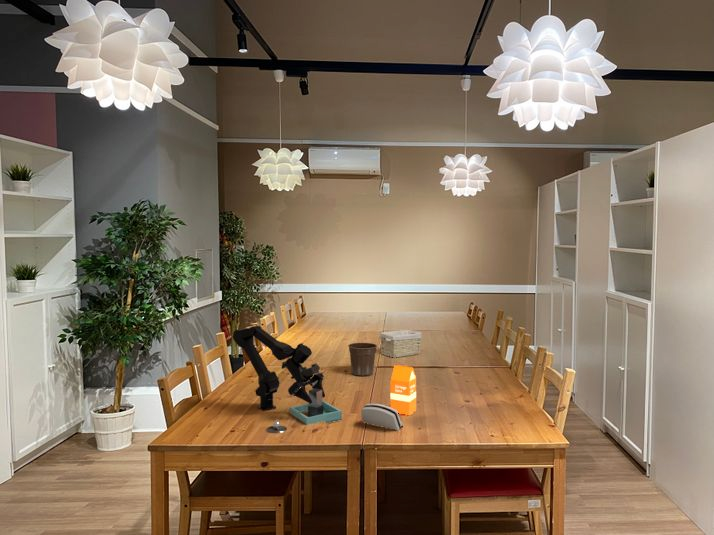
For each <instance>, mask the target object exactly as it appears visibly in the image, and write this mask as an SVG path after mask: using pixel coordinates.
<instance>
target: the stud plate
mask: <svg viewBox="0 0 714 535" xmlns="http://www.w3.org/2000/svg"><path fill="white" fill-rule="evenodd" d="M287 430H288V428H287V427H286V425H281V421H279V420H274V421H273V423H272V426H268V427H267V428H265V431H266V432H267V433H269V434H280V433H284V432H286V431H287Z"/></svg>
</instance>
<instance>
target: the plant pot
mask: <svg viewBox="0 0 714 535" xmlns="http://www.w3.org/2000/svg"><path fill="white" fill-rule="evenodd" d="M347 346H348V351H349V356H350V367H351V374H352V375H353V376H356V375H362V376H361V377H365V376H364V375H367V376H369V375H370V376H372V375H374V370H375V359H376V358H375V357H376V353H377V347H378V345H377V344H375V343H371V342H353V343H349V344H348V345H347Z"/></svg>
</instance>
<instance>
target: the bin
mask: <svg viewBox="0 0 714 535" xmlns="http://www.w3.org/2000/svg"><path fill="white" fill-rule="evenodd" d="M322 405H323V414H321V415H316V416H312V417H311V416H308V415H305V414H304V413H302V412H308V406H309V403H305V404H300V405H295V406H290V407H289V414H290V415H292V416H293V417H294V418H296V419H298V420H299V421H301V422H302V423H304V424H305V425H307V426H309V425H312V424H317V423H321V422H325V423H326V424H327V423H329V422H333V421H338V420H342V421H343V413H342V412H343V411H342V410H341V409H339V408H337V407H336V406H335V405H334V406H333V405H332V404H330V403H328V402H327V401H325V400H322ZM338 422H339V421H338ZM333 423H334V422H333ZM329 424H330V423H329Z"/></svg>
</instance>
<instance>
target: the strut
mask: <svg viewBox="0 0 714 535" xmlns="http://www.w3.org/2000/svg"><path fill="white" fill-rule="evenodd" d="M308 395H309V397H310V398H311V400H312V403H311V404H310V403H308V404H309V406H308V410H307V417H312V416H316V415H321V414H323V405H322V401H323V397H322V390H321V389H316V388H314V389H313V388H312V389H309V390H308Z"/></svg>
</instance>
